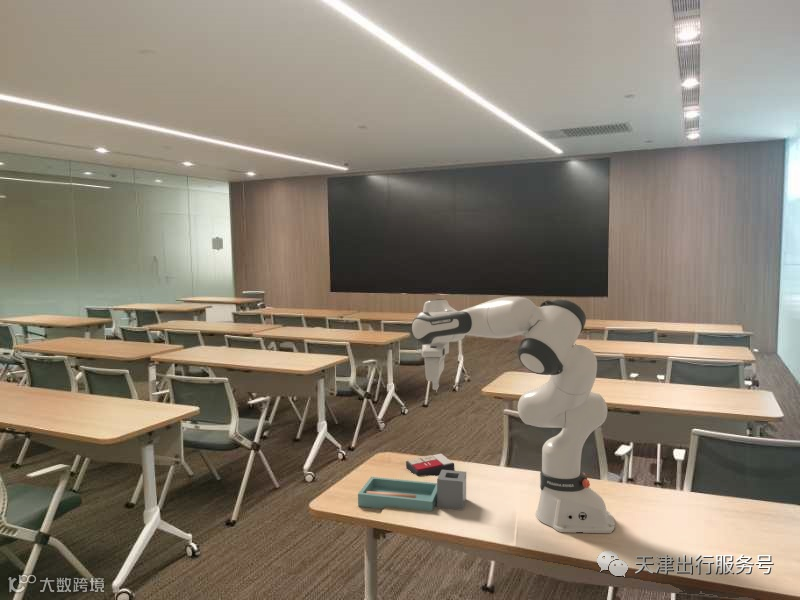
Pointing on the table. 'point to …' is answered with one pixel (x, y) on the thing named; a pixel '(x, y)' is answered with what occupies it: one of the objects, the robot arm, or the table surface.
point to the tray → (422, 490)
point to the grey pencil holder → (451, 489)
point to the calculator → (429, 465)
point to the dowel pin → (393, 494)
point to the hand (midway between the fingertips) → (435, 388)
